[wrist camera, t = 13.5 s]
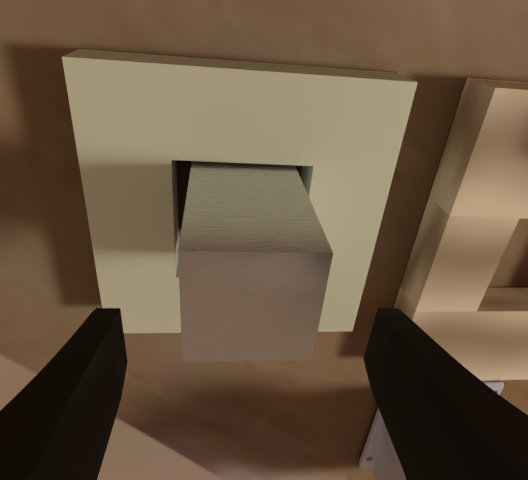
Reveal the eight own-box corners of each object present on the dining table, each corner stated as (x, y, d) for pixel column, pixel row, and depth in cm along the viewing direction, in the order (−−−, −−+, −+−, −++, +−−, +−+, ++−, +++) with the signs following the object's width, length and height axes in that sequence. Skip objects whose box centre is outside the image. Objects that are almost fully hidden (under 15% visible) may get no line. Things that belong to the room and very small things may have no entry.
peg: (279, 231, 20) (312, 359, 13) (195, 229, 19) (182, 362, 12) (288, 150, 17) (333, 252, 11) (193, 146, 17) (177, 251, 10)
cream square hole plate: (342, 305, 22) (352, 331, 21) (115, 305, 21) (106, 333, 19) (396, 72, 16) (417, 82, 14) (79, 48, 15) (61, 56, 13)
